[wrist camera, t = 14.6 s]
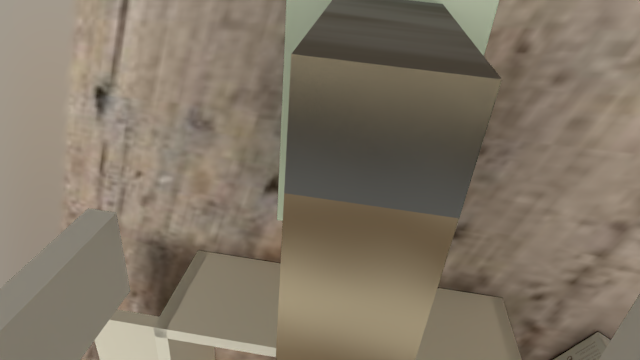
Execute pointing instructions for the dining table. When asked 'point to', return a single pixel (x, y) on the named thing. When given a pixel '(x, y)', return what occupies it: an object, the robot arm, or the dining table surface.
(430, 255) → the box
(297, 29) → the sage pad
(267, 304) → the carton
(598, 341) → the small box
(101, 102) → the dining table surface
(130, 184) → the dining table surface
